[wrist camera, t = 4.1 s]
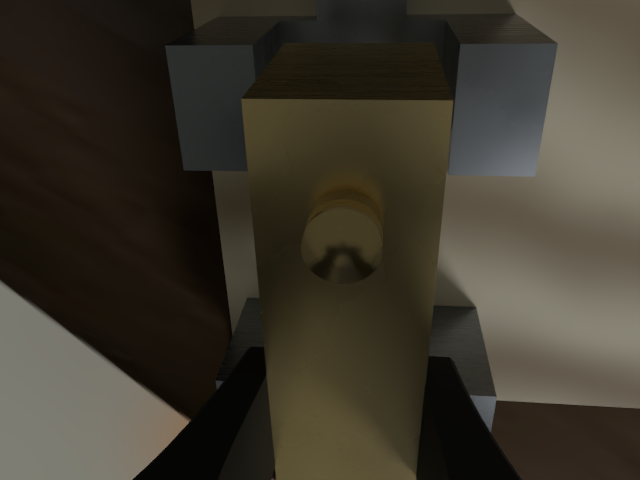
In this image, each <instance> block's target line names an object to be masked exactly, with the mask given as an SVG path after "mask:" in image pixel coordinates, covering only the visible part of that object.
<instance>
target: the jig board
mask: <svg viewBox="0 0 640 480" xmlns="http://www.w3.org/2000/svg"><path fill="white" fill-rule="evenodd" d="M191 7H192V15H193V23H194V29H196V28H198V27H200V26H202V25H203V24H205V23H207V22H209V21H211V20H212V19H214V18H216V17H236V16H317V0H191ZM423 14H517V15H519V16H520V17H522V18H523V19H524V20H526V21H527V22H529V23H530V24H531V25H533V26H534V27H536V28H537V29H538V30H540V31H541V32H543V33H544V34H545V35H547V36H548V37H550V38H551V39H552V40H554V41H555V42H557V43H558V46H557V52H556V58H555V64H554V69H553V75H552V81H551V87H550V93H549V98H548V104H547V110H546V116H545V121H544V127H543V133H542V139H541V144H540V150H539V156H538V162H537V168H536V173H535V177H525V176H470V175H448V172H446V182H445V192H444V203H443V213H442V223H441V233H440V244H439V254H438V264H437V274H436V285H435V295H434V305H440V306H464V307H476V308H477V313H478V317H479V321H480V326H481V330H482V335H483V339H484V343H485V348H486V352H487V356H488V361H489V365H490V370H491V374H492V378H493V383H494V387H495V391H496V396H497V398H496V400H504V401H521V402H538V403H555V404H573V405H590V406H607V407H624V408H640V0H407V11H406V15H423ZM212 175H213V183H214V191H215V199H216V207H217V215H218V223H219V231H220V239H221V247H222V255H223V263H224V271H225V279H226V287H227V295H228V303H229V311H230V319H231V327H232V335H233V333H234V331H235V328H236V326H237V323H238V320H239V318H240V315H241V312H242V310H243V307H244V304H245V302H246V299H247V298H259V287H258V276H257V265H256V255H255V244H254V233H253V222H252V211H251V200H250V190H249V179H248V171H212Z"/></svg>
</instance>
